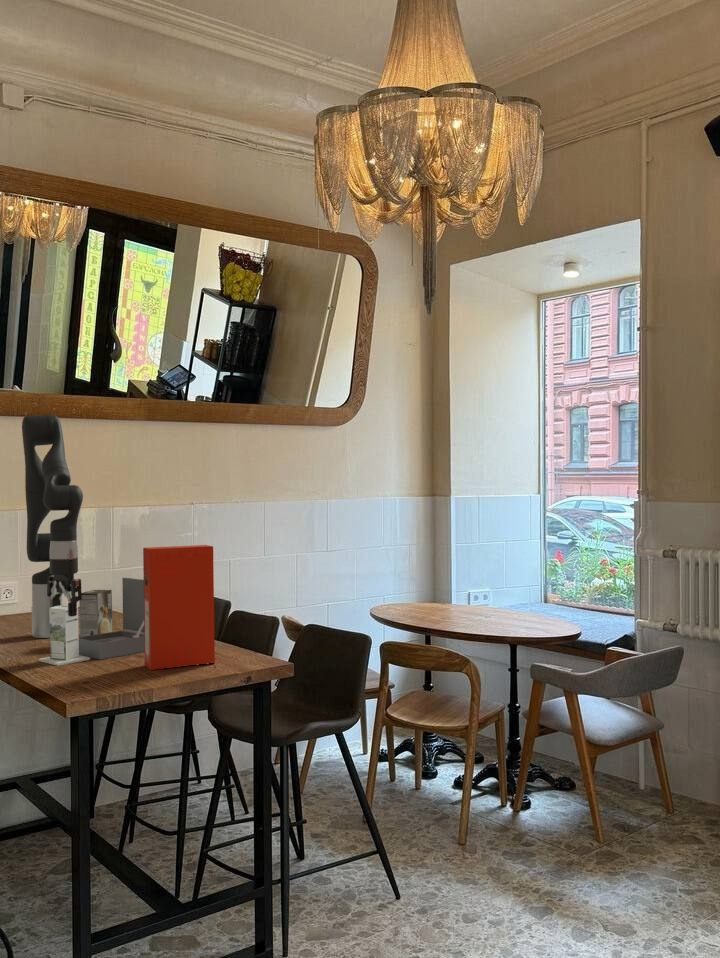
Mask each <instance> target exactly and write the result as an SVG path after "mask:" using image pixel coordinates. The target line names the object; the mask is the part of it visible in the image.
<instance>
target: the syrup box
mask: <svg viewBox="0 0 720 958" xmlns="http://www.w3.org/2000/svg"><path fill="white" fill-rule="evenodd" d="M49 617H50V638H49V657H50V659H57V660H70V659H73V658H76V657H79V639H78V637H79V607H78V605H77V615H76V616H68V605H63V604H62V605H59V606H54V607H51V608H50V609H49Z"/></svg>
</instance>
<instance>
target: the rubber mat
mask: <svg viewBox="0 0 720 958" xmlns="http://www.w3.org/2000/svg"><path fill="white" fill-rule="evenodd" d="M90 660H91V657H87V656H83V655H79V657H76V658H73V659H70V660H57V659H50V656H48V657H42V658H38V662H42V663H46V664H49V665H54V666H62V665H63V666H64V665H68V664H73V663H74V664H75V663H80V662H84V661H85V662H86V661H90Z"/></svg>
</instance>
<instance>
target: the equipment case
mask: <svg viewBox="0 0 720 958" xmlns="http://www.w3.org/2000/svg"><path fill="white" fill-rule="evenodd" d="M121 582H122V584H121V585H122V630H116V631H112V632H108V633H102V634H95V635H89V636H83V637H80V636H78V639H79V655H81V656H85V657H89V658H92V659H97V660H99V661H100V660H105V659H111V658H116V657H121V656H122V657H123V656H129V655H133V654H139V653H143V652H144V653H145V650H144V579H142V578H141V579H140V578H133V577H122V581H121Z"/></svg>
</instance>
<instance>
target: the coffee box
mask: <svg viewBox="0 0 720 958" xmlns="http://www.w3.org/2000/svg"><path fill="white" fill-rule="evenodd" d="M112 592H113V590H112V589H92V590H89V591H83V592H82V600H79V601H78V602H79V637H83V636H89V635H95V634H102V633H108V632H113V604H112V603H113V600H112V599H113V598H112V594H113V593H112Z"/></svg>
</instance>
